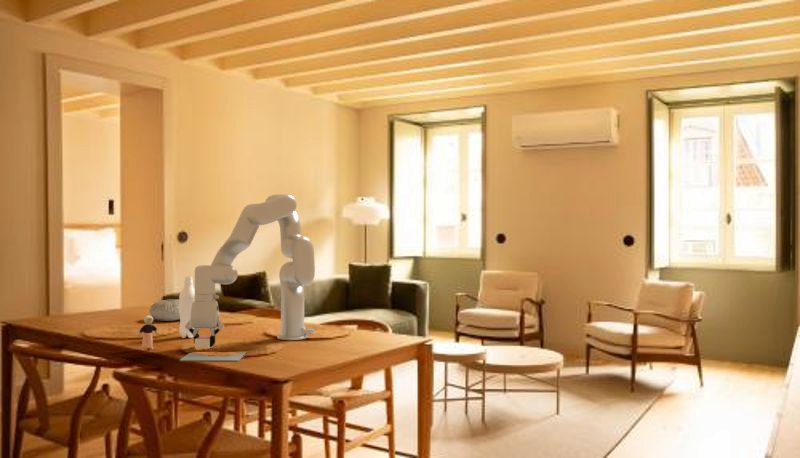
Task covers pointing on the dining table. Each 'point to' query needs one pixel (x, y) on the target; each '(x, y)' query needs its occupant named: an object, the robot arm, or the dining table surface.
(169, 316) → the grey rounded rock
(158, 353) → the dining table surface
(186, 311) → the water bottle
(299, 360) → the dining table surface
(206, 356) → the mat
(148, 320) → the grandmother figurine
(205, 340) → the card deck
